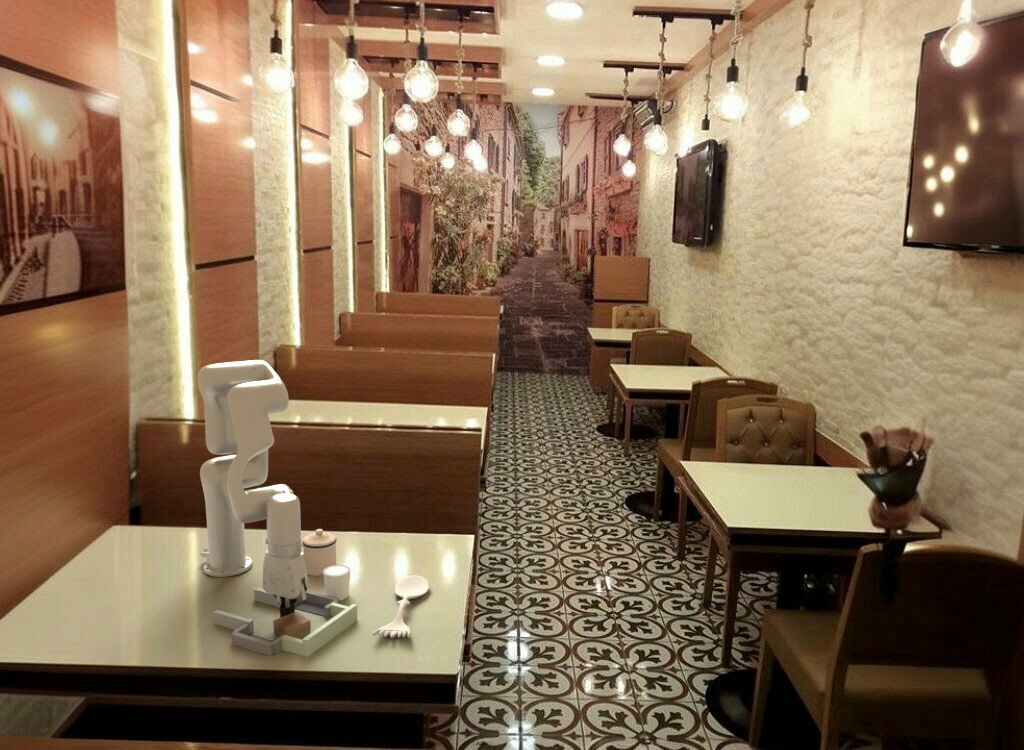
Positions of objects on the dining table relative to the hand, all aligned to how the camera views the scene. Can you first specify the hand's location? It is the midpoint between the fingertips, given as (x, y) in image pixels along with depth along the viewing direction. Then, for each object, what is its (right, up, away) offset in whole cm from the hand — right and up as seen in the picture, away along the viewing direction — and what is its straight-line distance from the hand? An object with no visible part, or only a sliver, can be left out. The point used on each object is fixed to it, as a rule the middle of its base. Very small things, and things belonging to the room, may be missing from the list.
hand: (287, 619), depth 185 cm
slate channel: (-2, -1, +1) cm, 2 cm away
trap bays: (0, -1, 0) cm, 1 cm away
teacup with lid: (-1, +4, +31) cm, 31 cm away
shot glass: (+8, +1, +15) cm, 18 cm away
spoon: (+27, -1, +8) cm, 28 cm away
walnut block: (+2, -2, -5) cm, 6 cm away
